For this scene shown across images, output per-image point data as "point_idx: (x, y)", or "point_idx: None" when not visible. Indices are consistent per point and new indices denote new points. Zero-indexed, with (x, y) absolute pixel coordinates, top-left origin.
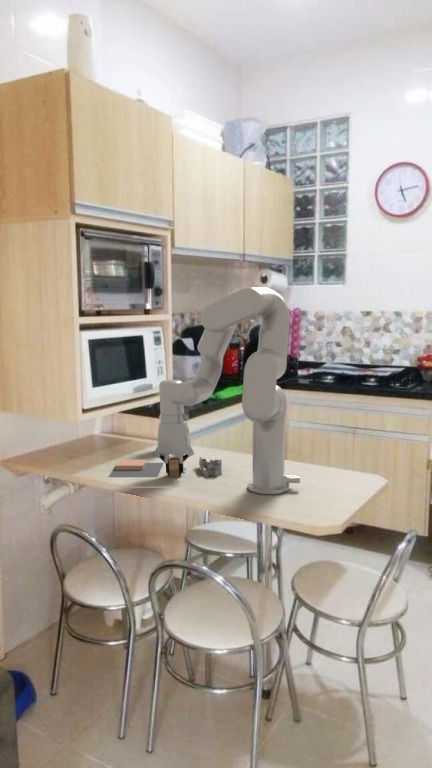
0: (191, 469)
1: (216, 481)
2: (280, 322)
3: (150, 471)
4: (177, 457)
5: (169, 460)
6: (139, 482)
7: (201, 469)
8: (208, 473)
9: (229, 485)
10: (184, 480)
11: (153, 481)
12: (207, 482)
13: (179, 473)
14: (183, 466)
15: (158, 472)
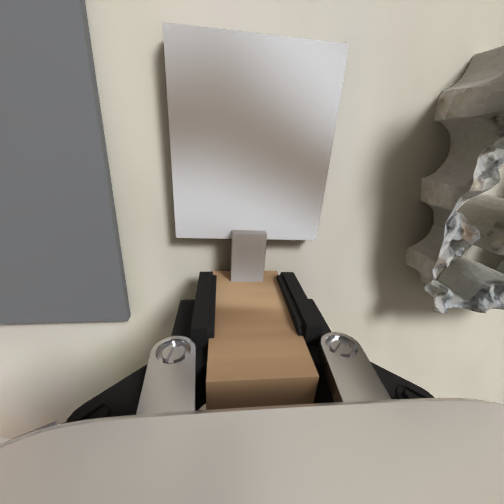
0: (370, 116)
1: (451, 352)
2: None
3: (18, 192)
4: (298, 384)
5: None
6: (37, 383)
7: (436, 309)
8: (456, 275)
9: (482, 391)
10: None
11: (121, 366)
12: (407, 365)
13: None
14: (314, 87)
15: (105, 226)
